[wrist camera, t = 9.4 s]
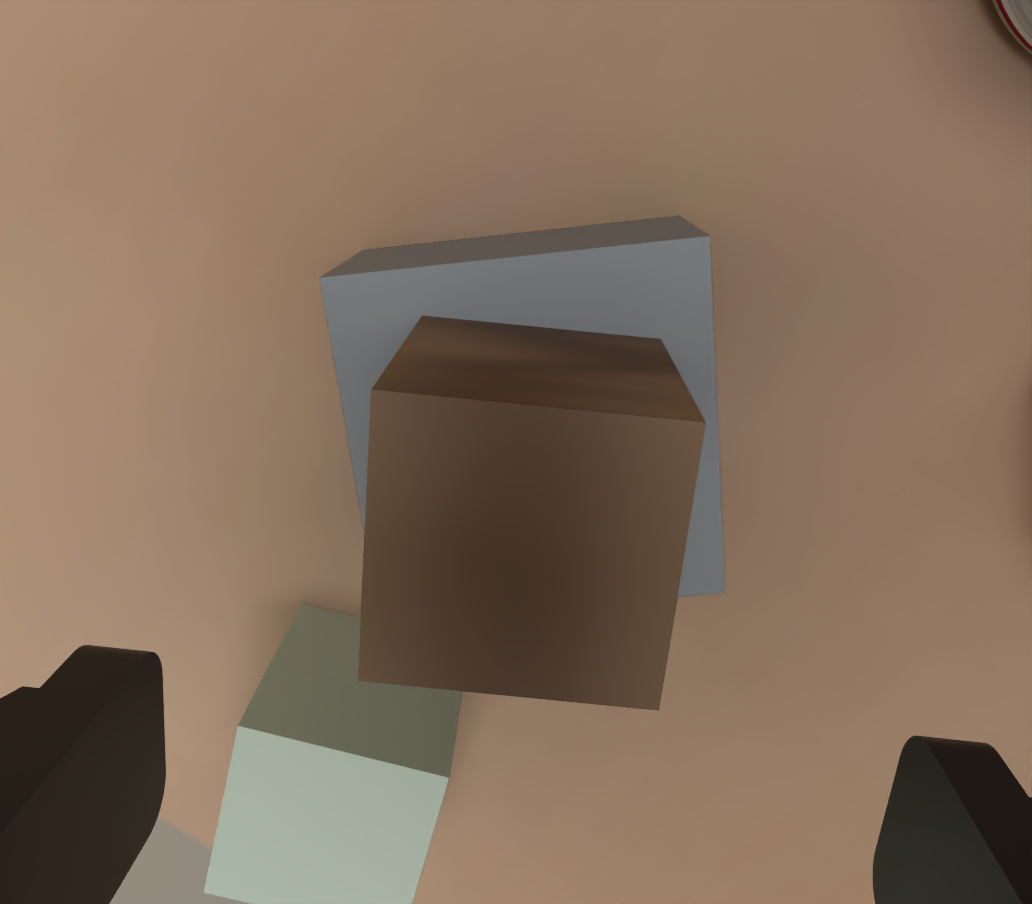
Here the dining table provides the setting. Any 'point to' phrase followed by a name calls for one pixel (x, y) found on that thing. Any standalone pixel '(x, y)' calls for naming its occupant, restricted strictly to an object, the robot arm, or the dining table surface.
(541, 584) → the walnut block
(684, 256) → the grey base block
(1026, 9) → the soda can
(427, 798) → the pale green block
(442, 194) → the dining table surface
